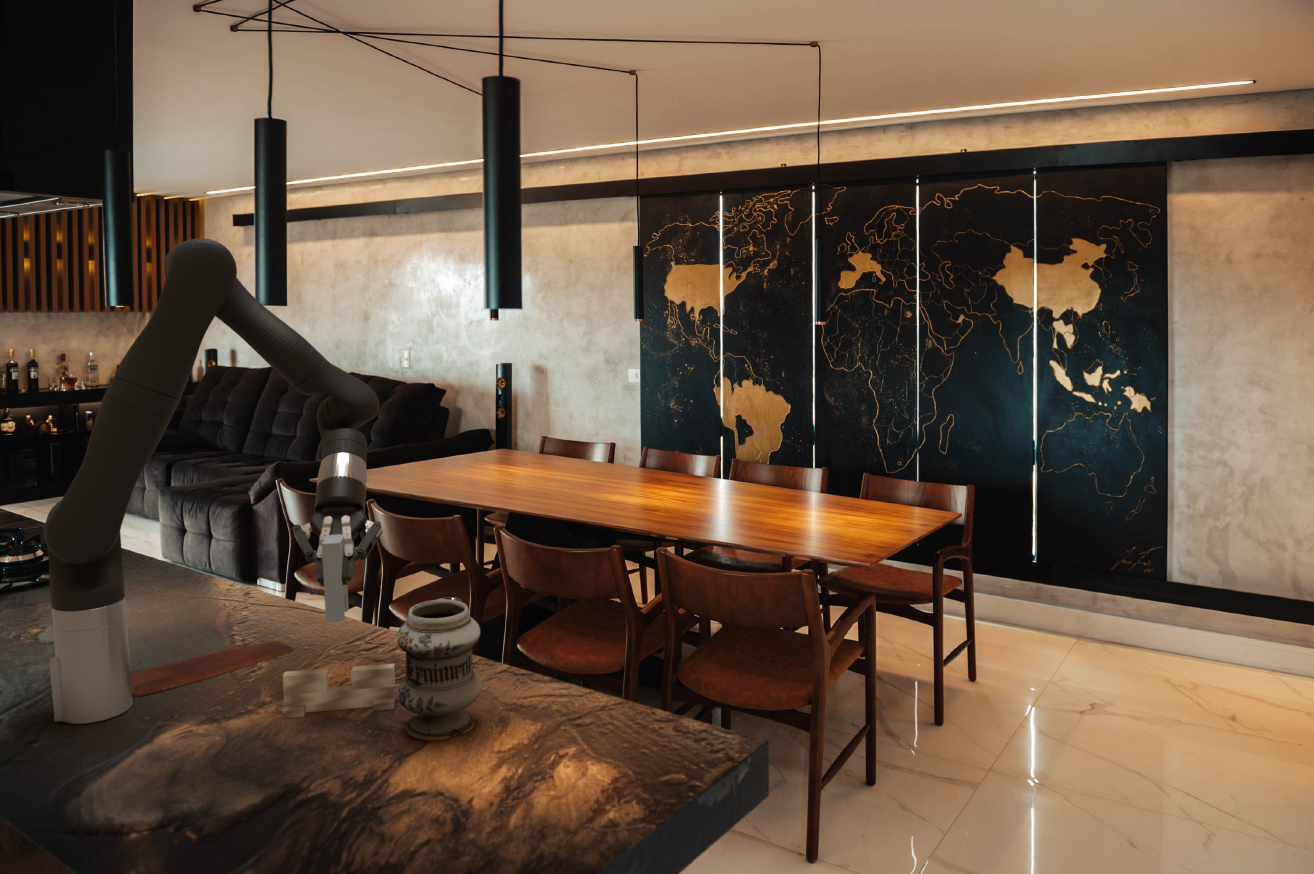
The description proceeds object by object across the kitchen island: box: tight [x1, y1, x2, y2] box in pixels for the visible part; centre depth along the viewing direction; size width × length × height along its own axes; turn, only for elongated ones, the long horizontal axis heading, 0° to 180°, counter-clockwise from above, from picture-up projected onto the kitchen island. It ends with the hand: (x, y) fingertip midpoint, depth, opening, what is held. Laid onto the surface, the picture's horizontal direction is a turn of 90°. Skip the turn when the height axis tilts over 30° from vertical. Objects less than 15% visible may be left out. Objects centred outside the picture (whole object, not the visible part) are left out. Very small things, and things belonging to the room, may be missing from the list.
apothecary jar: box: [396, 599, 483, 742], centre depth 124 cm, size 12×12×18 cm
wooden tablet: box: [131, 640, 295, 697], centre depth 147 cm, size 27×10×2 cm, turn 139°
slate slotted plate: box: [322, 534, 349, 623], centre depth 129 cm, size 2×5×12 cm, turn 12°
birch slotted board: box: [281, 663, 397, 720], centre depth 131 cm, size 16×5×6 cm, turn 102°
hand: (333, 582), depth 127 cm, fingers closed on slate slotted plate, 2 cm apart
